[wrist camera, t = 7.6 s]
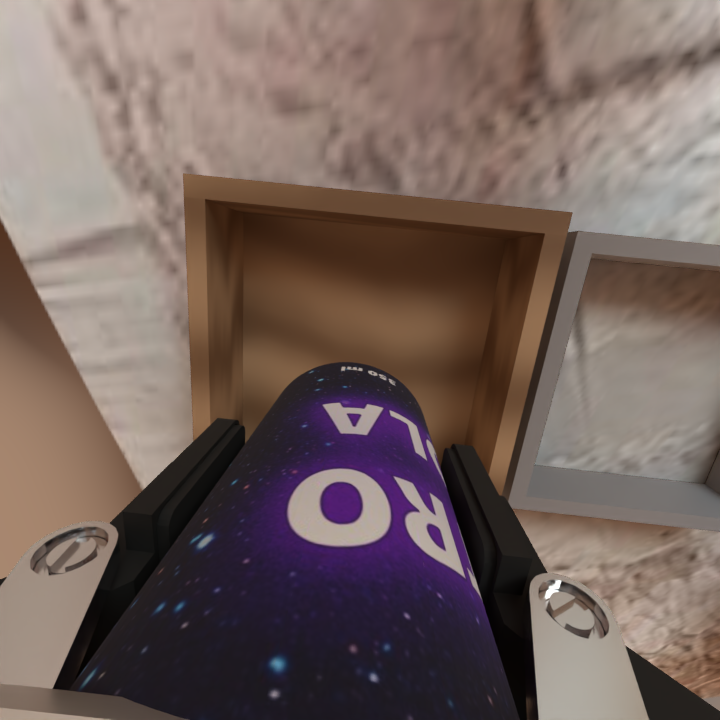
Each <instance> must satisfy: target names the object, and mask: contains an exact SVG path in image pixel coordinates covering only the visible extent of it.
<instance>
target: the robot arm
mask: <svg viewBox="0 0 720 720" xmlns="http://www.w3.org/2000/svg"><path fill="white" fill-rule="evenodd" d="M244 445H245V427H244V426H242V425H240V424H239V421H238V420H233V419H224V418H217V419H216V420H215V421H214V422H213V423H212V424H211V425H210V426H209V427H208V428H207V429H206V430H205V431H204V432H203V433H202V434H201V435H200V436H199V437H198V438H196V439H195V440H194V441H193V442H192V443H191V444H190V445H189V446H188V447H187V448H186V449H185V450H184V451H183V452H182V453H181V454H180V455H179V456H178V457H177V458H176V459H175V460H174V461H173V462H172V463H170V464H169V465H168V466H167V467H166V468H165V469H164V470H163V471H162V472H161V473H160V474H159V475H158V476H157V477H156V478H155V479H154V480H153V481H152V482H151V483H150V484H149V485H148V486H147V487H146V488H145V489H144V490H143V491H142V492H141V493H140V494H139V495H138V496H137V497H136V498H135V499H134V500H133V501H132V502H131V503H130V504H129V505H128V506H127V507H126V508H125V509H124V510H123V511H122V512H121V513H120V514H119V515H117V516H116V517H115V518H114V519H113V520H112V521H111V522H110V523H106V522H102V521H87V522H81V523H77V524H72V525H69V526H67V527H64V528H61V529H58V530H56V531H54V532H53V533H51V534H49V535H47V536H45V537H43V538H42V539H41V540H39V541H38V542H36V543H35V544H34V545H32V546H31V548H30V549H29V550H28V551H27V552H26V553H25V554H24V555H23V556H22V557H21V559H20V560H19V561H18V563H17V564H16V566H15V567H14V568H13V570H12V571H11V572H10V574H9V575H8V577H5V578H3V579H0V720H188V719H184V718H180V717H177V716H173V715H170V714H167V713H164V712H161V711H158V710H155V709H152V708H149V707H147V706H144V705H141V704H138V703H135V702H133V701H131V700H128V699H126V698H124V697H119V696H110V695H102V694H93V693H84V692H76V691H68V690H69V689H70V687H71V686H72V685H73V683H74V682H75V680H76V679H77V678H78V676H79V675H80V674H81V672H82V671H83V669H84V668H85V667H86V665H87V664H88V662H89V661H90V660H91V658H92V657H93V655H94V654H95V653H96V651H97V650H98V648H99V647H100V646H101V644H102V643H103V641H104V640H105V639H106V637H107V636H108V634H109V633H110V632H111V630H112V629H113V627H114V626H115V625H116V623H117V622H118V620H119V619H120V618H121V616H122V615H123V614H124V612H125V611H126V609H127V608H128V607H129V605H130V604H131V602H132V601H133V600H134V598H135V597H136V595H137V594H138V593H139V591H140V590H141V588H142V587H143V586H144V584H145V583H146V581H147V580H148V579H149V577H150V576H151V574H152V573H153V572H154V570H155V569H156V567H157V566H158V565H159V563H160V562H161V560H162V559H163V558H164V556H165V555H166V554H167V552H168V551H169V549H170V548H171V547H172V545H173V544H174V542H175V541H176V540H177V538H178V537H179V535H180V534H181V533H182V531H183V530H184V528H185V527H186V526H187V524H188V523H189V521H190V520H191V519H192V517H193V516H194V514H195V513H196V512H197V510H198V509H199V507H200V506H201V505H202V503H203V502H204V500H205V499H206V498H207V496H208V495H209V493H210V492H211V491H212V489H213V488H214V487H215V485H216V484H217V482H218V481H219V480H220V478H221V477H222V475H223V474H224V473H225V471H226V470H227V468H228V467H229V466H230V464H231V463H232V461H233V460H234V459H235V457H236V456H237V454H238V453H239V452H240V450H241V449H242V447H243V446H244ZM441 472H442V475H443V478H444V481H445V484H446V487H447V491H448V494H449V497H450V500H451V503H452V506H453V510H454V513H455V516H456V519H457V522H458V525H459V529H460V532H461V535H462V538H463V541H464V544H465V548H466V551H467V554H468V557H469V560H470V563H471V567H472V570H473V573H474V576H475V579H476V582H477V585H478V589H479V592H480V595H481V598H482V601H483V604H484V608H485V611H486V614H487V617H488V620H489V623H490V627H491V630H492V633H493V636H494V639H495V642H496V646H497V649H498V652H499V655H500V658H501V661H502V665H503V668H504V671H505V674H506V677H507V680H508V684H509V687H510V690H511V693H512V696H513V699H514V703H515V706H516V709H517V712H518V715H519V718H520V720H720V711H719V710H717V709H716V708H714V707H713V706H711V705H710V704H708V703H707V702H705V701H704V700H703V699H701V698H700V697H698V696H697V695H696V694H694V693H693V692H691V691H690V690H688V689H687V688H685V687H684V686H683V685H681V684H680V683H678V682H677V681H675V680H674V679H673V678H671V677H670V676H668V675H667V674H665V673H664V672H662V671H661V670H660V669H658V668H657V667H655V666H654V665H652V664H651V663H650V662H648V661H647V660H645V659H644V658H642V657H641V656H639V655H638V654H637V653H635V652H634V651H632V650H631V649H629V648H628V647H627V646H625V643H624V640H623V637H622V634H621V631H620V628H619V625H618V623H617V621H616V619H615V617H614V615H613V613H612V611H611V610H610V609H609V608H608V606H607V605H606V604H605V603H604V601H603V600H602V599H600V598H599V597H598V596H597V595H596V594H595V593H594V592H593V591H591V590H590V589H588V588H587V587H585V586H584V585H582V584H581V583H579V582H577V581H575V580H573V579H571V578H569V577H566V576H563V575H559V574H555V573H547V571H546V569H545V568H544V566H543V564H542V562H541V560H540V559H539V557H538V555H537V553H536V551H535V550H534V548H533V546H532V544H531V542H530V540H529V539H528V537H527V535H526V533H525V531H524V530H523V528H522V526H521V524H520V522H519V521H518V519H517V517H516V515H515V513H514V512H513V510H512V508H511V506H510V504H509V502H508V501H507V499H506V498H505V497H504V496H501V495H499V494H498V492H497V490H496V488H495V486H494V484H493V482H492V481H491V479H490V477H489V475H488V473H487V471H486V469H485V467H484V465H483V464H482V462H481V460H480V458H479V456H478V454H477V452H476V450H475V448H474V447H473V446H469V445H460V444H452V446H451V448H445V449H444V453H443V458H442V463H441Z"/></svg>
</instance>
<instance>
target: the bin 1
mask: <svg viewBox="0 0 720 720" xmlns="http://www.w3.org/2000/svg"><path fill="white" fill-rule="evenodd" d="M183 183H184V209H185V234H186V260H187V286H188V311H189V337H190V363H191V389H192V414H193V440H195V439H196V438H198V437H199V436H200V435H201V434H202V433H203V432H204V431H205V430H206V429H207V428H208V427H209V426H210V425H211V424H212V423H213V422H214V421H215V420H216V419H217V418H224V419H233V420H238V421H239V424H240V425H242V426H244V427H245V443H246V442H247V440H248V439H249V438H250V436H251V435H252V433H253V432H254V431H255V429H256V428H257V427H258V425H259V424H260V422H261V421H262V420H263V418H264V417H265V415H266V414H267V413H268V411H269V410H270V408H271V407H272V406H273V404H274V403H275V401H276V400H277V399H278V397H279V396H280V394H281V393H282V392H283V390H284V389H285V388H286V387H287V386H288V385H289V384H290V383H291V382H292V381H293V380H294V379H296V378H297V377H298V376H300V375H301V374H303V373H305V372H306V371H309V370H311V369H313V368H316V367H318V366H321V365H325V364H330V363H337V362H354V363H361V364H366V365H370V366H373V367H376V368H378V369H381V370H383V371H385V372H387V373H389V374H390V375H392V376H394V377H395V378H396V379H398V380H399V381H400V382H401V383H403V384H404V385H405V386H406V387H407V388H408V389H409V391H410V392H411V393H412V394H413V396H414V397H415V398H416V400H417V402H418V403H419V405H420V407H421V410H422V412H423V415H424V418H425V421H426V424H427V427H428V431H429V434H430V437H431V440H432V443H433V446H434V449H435V453H436V456H437V459H438V462H439V465H440V468H441V463H442V458H443V453H444V449H445V448H451V446H452V444H460V445H469V446H473V447H474V448H475V450H476V452H477V454H478V456H479V458H480V460H481V462H482V464H483V465H484V467H485V469H486V471H487V473H488V475H489V477H490V479H491V481H492V482H493V484H494V486H495V488H496V490H497V492H498V494H499V495H501V496H502V492H503V488H504V484H505V480H506V476H507V472H508V468H509V464H510V460H511V456H512V452H513V448H514V444H515V440H516V436H517V432H518V428H519V424H520V420H521V416H522V412H523V408H524V404H525V400H526V396H527V392H528V388H529V384H530V380H531V376H532V372H533V368H534V364H535V360H536V356H537V352H538V348H539V344H540V340H541V336H542V332H543V328H544V324H545V320H546V316H547V312H548V308H549V304H550V300H551V296H552V292H553V288H554V284H555V280H556V276H557V272H558V268H559V264H560V260H561V256H562V252H563V248H564V244H565V240H566V237H567V233H568V229H569V225H570V221H571V217H572V212H562V211H552V210H542V209H532V208H522V207H512V206H502V205H492V204H482V203H472V202H462V201H452V200H442V199H432V198H422V197H412V196H402V195H392V194H382V193H372V192H362V191H352V190H342V189H332V188H322V187H312V186H302V185H292V184H282V183H272V182H262V181H252V180H242V179H232V178H222V177H212V176H202V175H192V174H183Z"/></svg>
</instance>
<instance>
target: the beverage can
mask: <svg viewBox="0 0 720 720" xmlns="http://www.w3.org/2000/svg"><path fill="white" fill-rule="evenodd" d="M68 691H76V692H84V693H93V694H102V695H110V696H119V697H124V698H126V699H128V700H131V701H133V702H135V703H138V704H141V705H144V706H147V707H149V708H152V709H155V710H158V711H161V712H164V713H167V714H170V715H173V716H177V717H180V718H184V719H188V720H520V718H519V715H518V712H517V709H516V706H515V703H514V699H513V696H512V693H511V690H510V687H509V684H508V680H507V677H506V674H505V671H504V668H503V665H502V661H501V658H500V655H499V652H498V649H497V646H496V642H495V639H494V636H493V633H492V630H491V627H490V623H489V620H488V617H487V614H486V611H485V608H484V604H483V601H482V598H481V595H480V592H479V589H478V585H477V582H476V579H475V576H474V573H473V570H472V567H471V563H470V560H469V557H468V554H467V551H466V548H465V544H464V541H463V538H462V535H461V532H460V529H459V525H458V522H457V519H456V516H455V513H454V510H453V506H452V503H451V500H450V497H449V494H448V491H447V487H446V484H445V481H444V478H443V475H442V472H441V468H440V465H439V462H438V459H437V456H436V453H435V449H434V446H433V443H432V440H431V437H430V434H429V431H428V427H427V424H426V421H425V418H424V415H423V412H422V410H421V407H420V405H419V403H418V402H417V400H416V398H415V397H414V396H413V394H412V393H411V392H410V391H409V389H408V388H407V387H406V386H405V385H404V384H403V383H401V382H400V381H399V380H398V379H396V378H395V377H394V376H392V375H390V374H389V373H387V372H385V371H383V370H381V369H378V368H376V367H373V366H370V365H366V364H361V363H354V362H337V363H330V364H325V365H321V366H318V367H316V368H313V369H311V370H309V371H306V372H305V373H303V374H301V375H300V376H298V377H297V378H296V379H294V380H293V381H292V382H291V383H290V384H289V385H288V386H287V387H286V388H285V389H284V390H283V392H282V393H281V394H280V396H279V397H278V399H277V400H276V401H275V403H274V404H273V406H272V407H271V408H270V410H269V411H268V413H267V414H266V415H265V417H264V418H263V420H262V421H261V422H260V424H259V425H258V427H257V428H256V429H255V431H254V432H253V433H252V435H251V436H250V438H249V439H248V440H247V442H246V443H245V445H244V446H243V447H242V449H241V450H240V452H239V453H238V454H237V456H236V457H235V459H234V460H233V461H232V463H231V464H230V466H229V467H228V468H227V470H226V471H225V473H224V474H223V475H222V477H221V478H220V480H219V481H218V482H217V484H216V485H215V487H214V488H213V489H212V491H211V492H210V493H209V495H208V496H207V498H206V499H205V500H204V502H203V503H202V505H201V506H200V507H199V509H198V510H197V512H196V513H195V514H194V516H193V517H192V519H191V520H190V521H189V523H188V524H187V526H186V527H185V528H184V530H183V531H182V533H181V534H180V535H179V537H178V538H177V540H176V541H175V542H174V544H173V545H172V547H171V548H170V549H169V551H168V552H167V554H166V555H165V556H164V558H163V559H162V560H161V562H160V563H159V565H158V566H157V567H156V569H155V570H154V572H153V573H152V574H151V576H150V577H149V579H148V580H147V581H146V583H145V584H144V586H143V587H142V588H141V590H140V591H139V593H138V594H137V595H136V597H135V598H134V600H133V601H132V602H131V604H130V605H129V607H128V608H127V609H126V611H125V612H124V614H123V615H122V616H121V618H120V619H119V620H118V622H117V623H116V625H115V626H114V627H113V629H112V630H111V632H110V633H109V634H108V636H107V637H106V639H105V640H104V641H103V643H102V644H101V646H100V647H99V648H98V650H97V651H96V653H95V654H94V655H93V657H92V658H91V660H90V661H89V662H88V664H87V665H86V667H85V668H84V669H83V671H82V672H81V674H80V675H79V676H78V678H77V679H76V680H75V682H74V683H73V685H72V686H71V687H70V689H69V690H68Z"/></svg>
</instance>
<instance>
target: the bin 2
mask: <svg viewBox="0 0 720 720" xmlns="http://www.w3.org/2000/svg"><path fill="white" fill-rule="evenodd" d="M591 258H593V259H603V260H613V261H623V262H633V263H642V264H652V265H662V266H672V267H682V268H691V269H701V270H711V271H720V245H711V244H702V243H692V242H682V241H672V240H662V239H652V238H642V237H632V236H622V235H612V234H602V233H593V232H583V231H575V232H568V233H567V237H566V240H565V244H564V248H563V252H562V256H561V260H560V264H559V268H558V272H557V276H556V280H555V284H554V288H553V292H552V296H551V300H550V304H549V308H548V312H547V316H546V320H545V324H544V328H543V332H542V336H541V340H540V344H539V348H538V352H537V356H536V360H535V364H534V368H533V372H532V376H531V380H530V384H529V388H528V392H527V396H526V400H525V404H524V408H523V412H522V416H521V420H520V424H519V428H518V432H517V436H516V440H515V444H514V448H513V452H512V456H511V460H510V464H509V468H508V472H507V476H506V480H505V484H504V488H503V492H502V496H504V497H505V498H506V499H507V501H508V502H509V504H510V506H511V508H514V509H523V510H532V511H541V512H549V513H558V514H567V515H576V516H585V517H593V518H602V519H611V520H620V521H629V522H638V523H646V524H655V525H664V526H673V527H682V528H690V529H699V530H708V531H717V532H720V451H719V453H718V455H717V458H716V460H715V462H714V464H713V467H712V469H711V471H710V474H709V476H708V478H707V480H706V483H705V484H699V483H690V482H681V481H672V480H663V479H654V478H645V477H636V476H627V475H618V474H609V473H600V472H591V471H582V470H573V469H564V468H555V467H546V466H537V465H534V464H535V460H536V457H537V453H538V449H539V446H540V442H541V438H542V435H543V431H544V427H545V424H546V420H547V416H548V413H549V409H550V405H551V402H552V398H553V394H554V391H555V387H556V383H557V380H558V376H559V372H560V369H561V365H562V361H563V358H564V354H565V350H566V347H567V343H568V340H569V336H570V332H571V329H572V325H573V321H574V318H575V314H576V310H577V307H578V303H579V299H580V296H581V292H582V288H583V285H584V281H585V277H586V274H587V270H588V266H589V263H590V259H591Z"/></svg>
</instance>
